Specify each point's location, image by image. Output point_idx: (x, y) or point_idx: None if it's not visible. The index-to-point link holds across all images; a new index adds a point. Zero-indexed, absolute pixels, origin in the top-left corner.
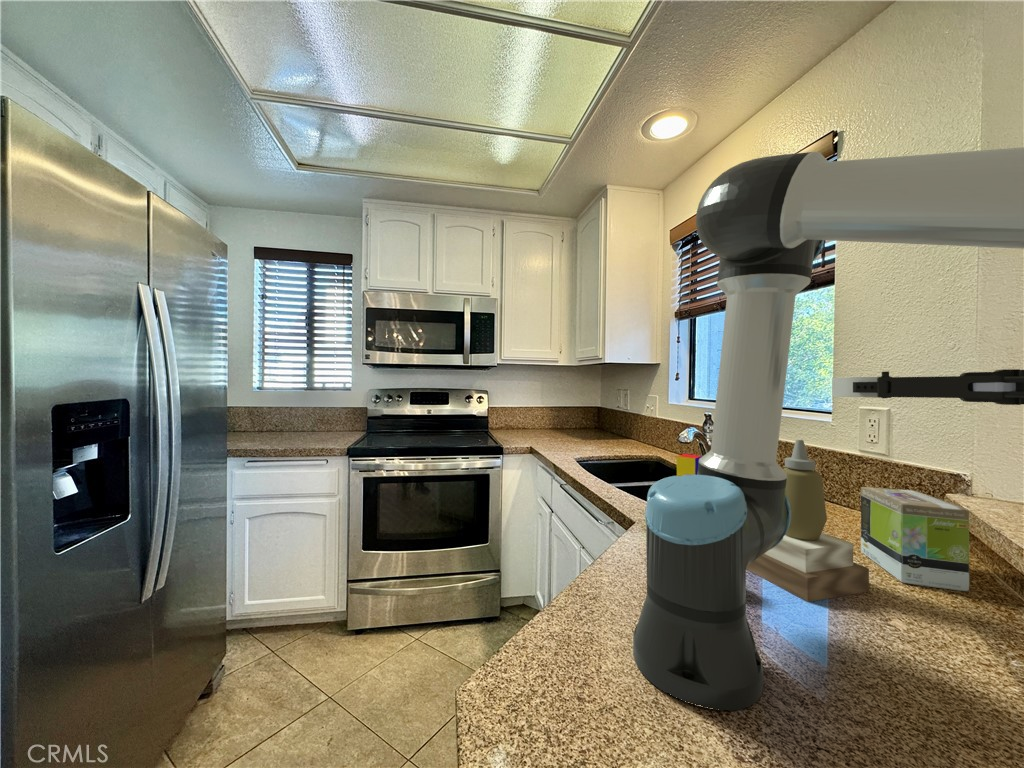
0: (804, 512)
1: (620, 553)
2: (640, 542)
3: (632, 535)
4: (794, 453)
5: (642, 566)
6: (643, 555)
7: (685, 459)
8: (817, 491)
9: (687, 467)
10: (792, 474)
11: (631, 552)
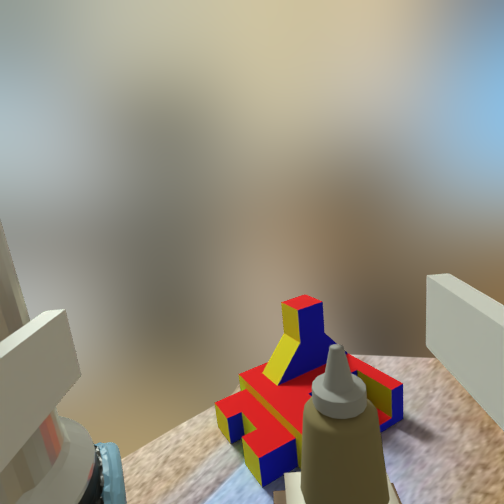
0: (321, 500)
1: (141, 456)
2: (195, 432)
3: (202, 414)
4: (325, 373)
5: (133, 495)
6: (164, 465)
7: (289, 309)
8: (348, 468)
9: (291, 321)
10: (308, 420)
11: (157, 455)
